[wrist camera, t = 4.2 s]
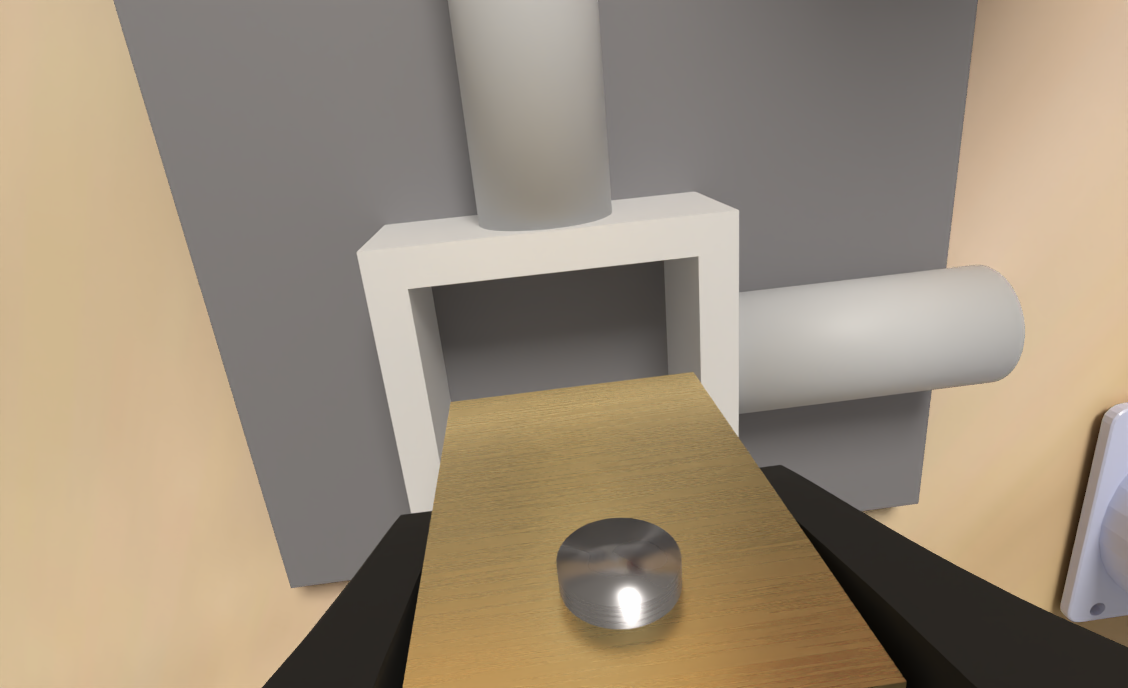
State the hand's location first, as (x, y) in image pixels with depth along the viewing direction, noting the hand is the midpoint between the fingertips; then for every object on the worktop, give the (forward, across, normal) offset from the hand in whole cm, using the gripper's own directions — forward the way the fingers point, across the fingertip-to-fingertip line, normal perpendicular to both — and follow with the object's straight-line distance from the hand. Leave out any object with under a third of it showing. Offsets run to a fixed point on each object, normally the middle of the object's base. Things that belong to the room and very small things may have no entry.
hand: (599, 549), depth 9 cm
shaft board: (+9, -1, -3) cm, 9 cm away
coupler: (+2, 0, 0) cm, 2 cm away
